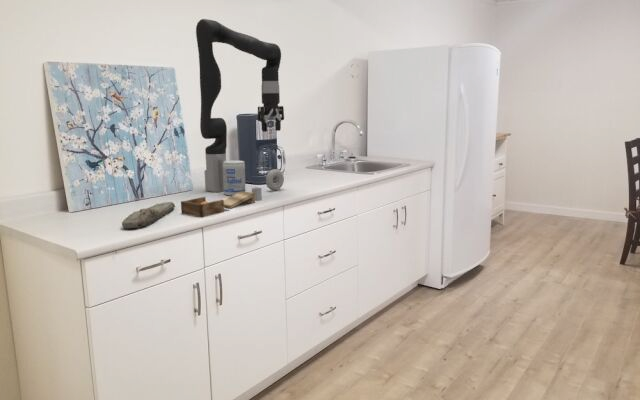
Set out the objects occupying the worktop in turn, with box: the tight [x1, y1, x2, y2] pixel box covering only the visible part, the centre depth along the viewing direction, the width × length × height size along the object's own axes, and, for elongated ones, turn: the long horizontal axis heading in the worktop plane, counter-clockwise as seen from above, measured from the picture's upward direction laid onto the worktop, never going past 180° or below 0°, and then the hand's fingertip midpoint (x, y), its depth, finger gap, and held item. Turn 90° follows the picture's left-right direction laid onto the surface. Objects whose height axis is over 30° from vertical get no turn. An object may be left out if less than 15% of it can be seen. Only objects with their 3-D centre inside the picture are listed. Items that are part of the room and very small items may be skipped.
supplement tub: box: [223, 159, 246, 197], centre depth 227 cm, size 10×10×15 cm
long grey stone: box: [121, 201, 176, 229], centre depth 184 cm, size 35×5×10 cm
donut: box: [265, 168, 285, 191], centre depth 236 cm, size 10×4×10 cm, turn 136°
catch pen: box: [180, 196, 225, 218], centre depth 192 cm, size 11×11×4 cm
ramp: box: [223, 191, 256, 209], centre depth 206 cm, size 14×7×4 cm, turn 144°
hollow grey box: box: [251, 186, 263, 202], centre depth 215 cm, size 3×3×5 cm
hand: (271, 131), depth 219 cm, fingers open, 8 cm apart
